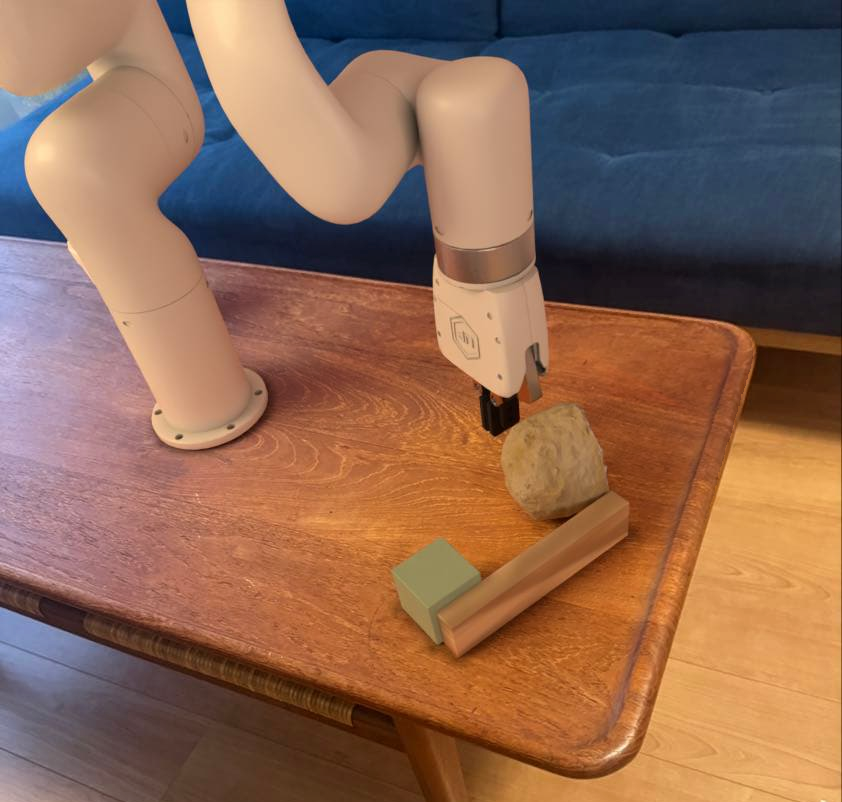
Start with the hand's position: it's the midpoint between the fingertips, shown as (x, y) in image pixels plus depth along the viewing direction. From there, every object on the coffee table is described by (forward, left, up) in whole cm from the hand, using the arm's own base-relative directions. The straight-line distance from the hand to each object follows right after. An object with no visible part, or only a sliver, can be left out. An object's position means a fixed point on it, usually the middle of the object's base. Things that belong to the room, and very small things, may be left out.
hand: (501, 425), depth 76 cm
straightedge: (+15, -9, -2) cm, 17 cm away
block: (+11, -16, -2) cm, 20 cm away
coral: (+9, -1, -3) cm, 9 cm away
